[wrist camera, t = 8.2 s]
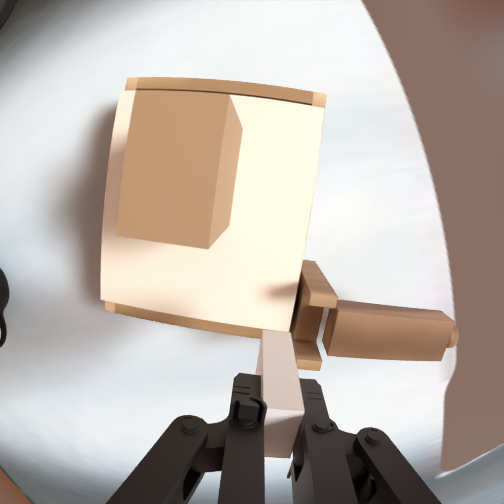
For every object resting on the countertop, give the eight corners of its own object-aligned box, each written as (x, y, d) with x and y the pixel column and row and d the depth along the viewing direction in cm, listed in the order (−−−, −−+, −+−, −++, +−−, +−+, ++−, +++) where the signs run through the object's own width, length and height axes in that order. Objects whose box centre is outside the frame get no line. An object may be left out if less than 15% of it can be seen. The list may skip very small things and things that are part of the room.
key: (331, 298, 24) (338, 311, 21) (451, 311, 24) (465, 322, 21) (322, 340, 24) (327, 355, 22) (439, 348, 24) (451, 361, 22)
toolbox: (150, 95, 28) (104, 60, 18) (336, 115, 28) (369, 84, 18) (129, 290, 32) (81, 330, 22) (303, 317, 32) (319, 372, 22)
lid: (130, 97, 24) (57, 54, 13) (319, 114, 24) (358, 65, 13) (111, 291, 27) (39, 346, 16) (287, 321, 27) (299, 401, 16)
